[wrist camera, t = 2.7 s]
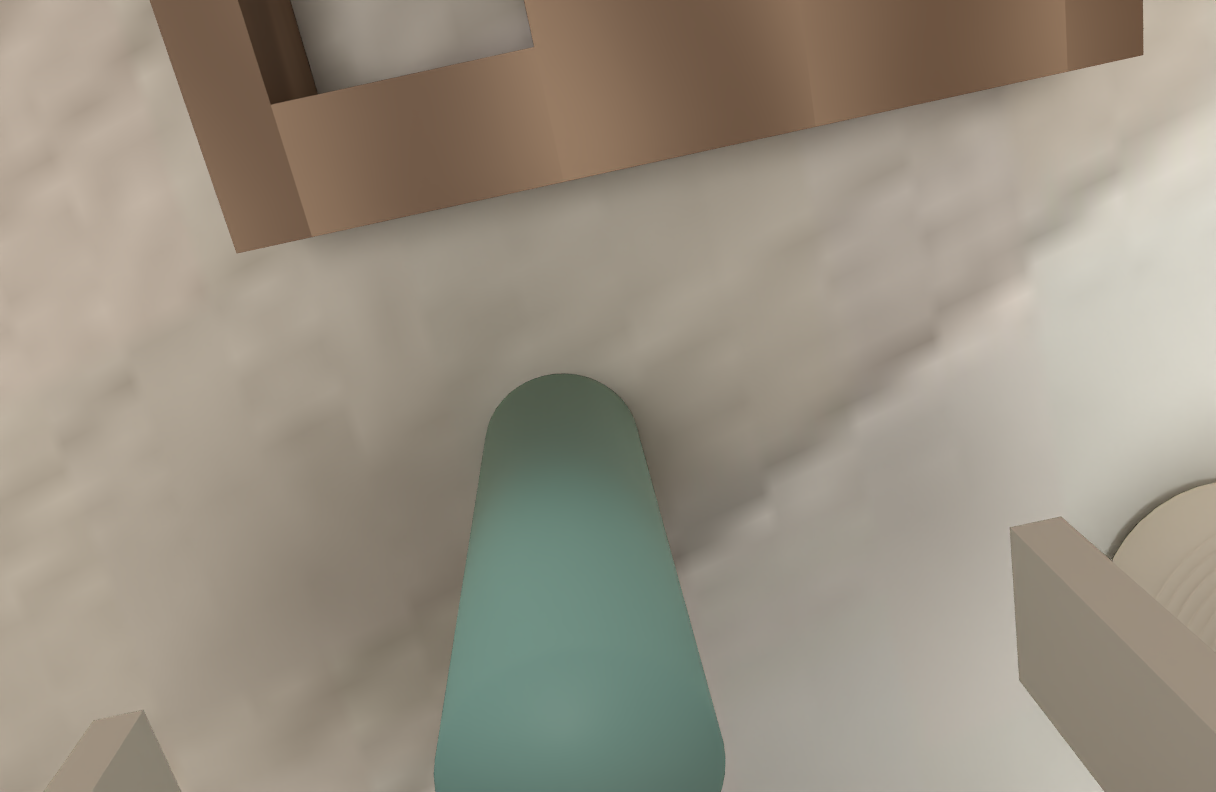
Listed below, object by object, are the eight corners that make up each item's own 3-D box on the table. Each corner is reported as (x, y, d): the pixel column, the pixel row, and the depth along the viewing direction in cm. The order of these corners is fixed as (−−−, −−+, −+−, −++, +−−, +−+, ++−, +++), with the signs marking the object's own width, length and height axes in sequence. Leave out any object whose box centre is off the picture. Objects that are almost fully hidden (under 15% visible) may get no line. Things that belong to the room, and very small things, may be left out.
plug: (505, 530, 25) (475, 912, 13) (467, 392, 23) (398, 686, 12) (651, 498, 25) (745, 853, 13) (622, 358, 23) (699, 620, 12)
